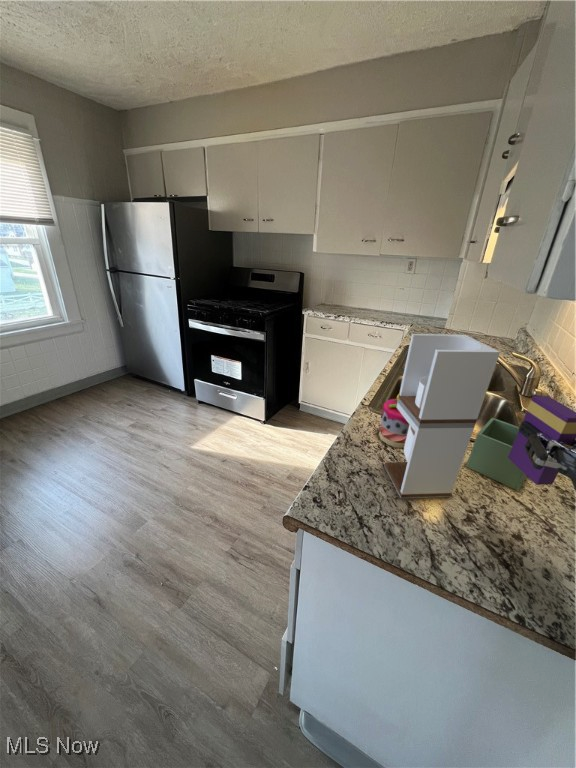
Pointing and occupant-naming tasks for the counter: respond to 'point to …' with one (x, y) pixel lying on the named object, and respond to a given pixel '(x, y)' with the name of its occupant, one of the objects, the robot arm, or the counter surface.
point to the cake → (393, 425)
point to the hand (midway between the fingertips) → (531, 425)
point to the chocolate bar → (551, 422)
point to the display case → (439, 410)
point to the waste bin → (496, 453)
